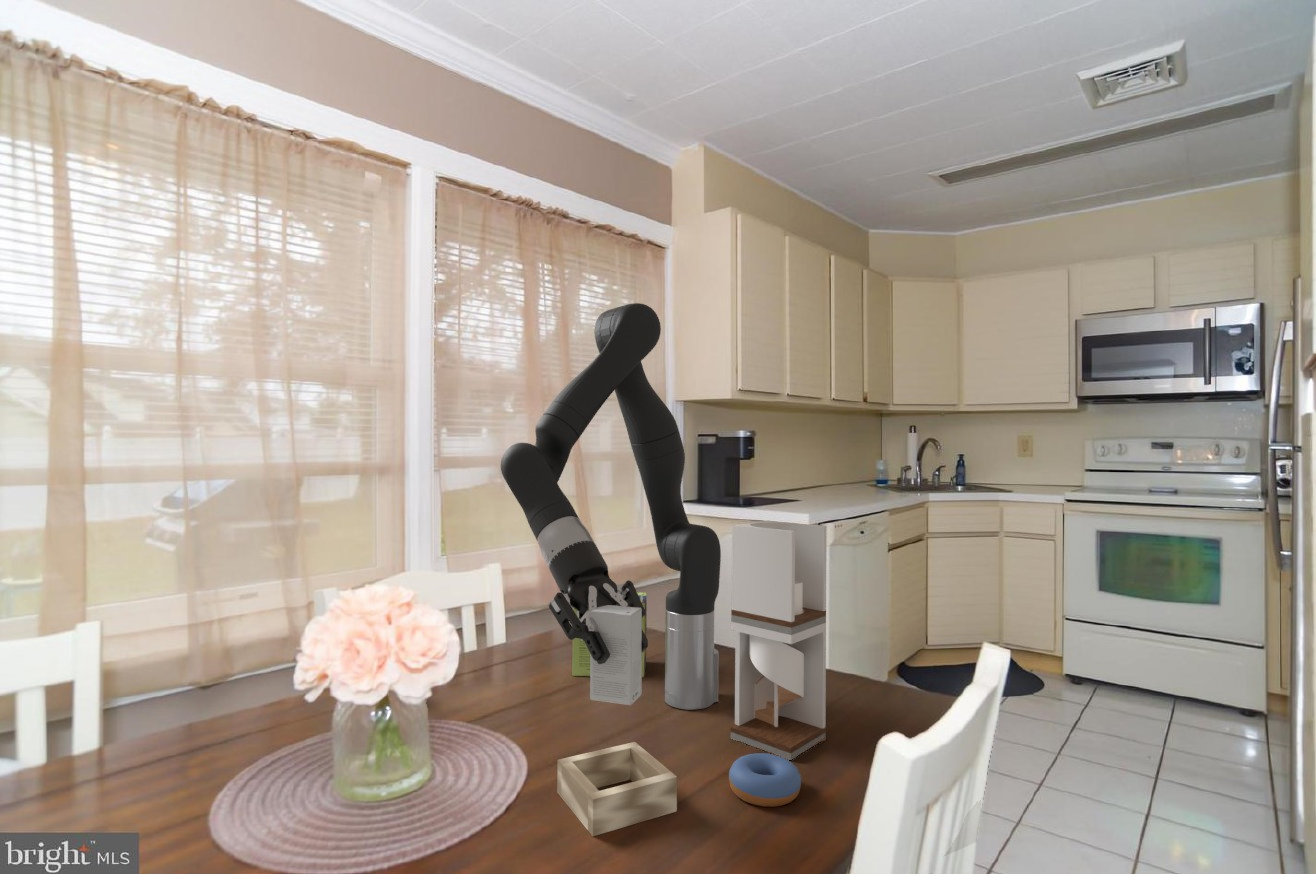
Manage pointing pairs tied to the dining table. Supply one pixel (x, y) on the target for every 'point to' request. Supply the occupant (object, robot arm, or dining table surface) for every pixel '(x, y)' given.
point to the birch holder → (622, 803)
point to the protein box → (583, 654)
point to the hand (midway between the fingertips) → (624, 654)
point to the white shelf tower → (779, 635)
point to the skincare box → (618, 655)
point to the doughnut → (765, 779)
